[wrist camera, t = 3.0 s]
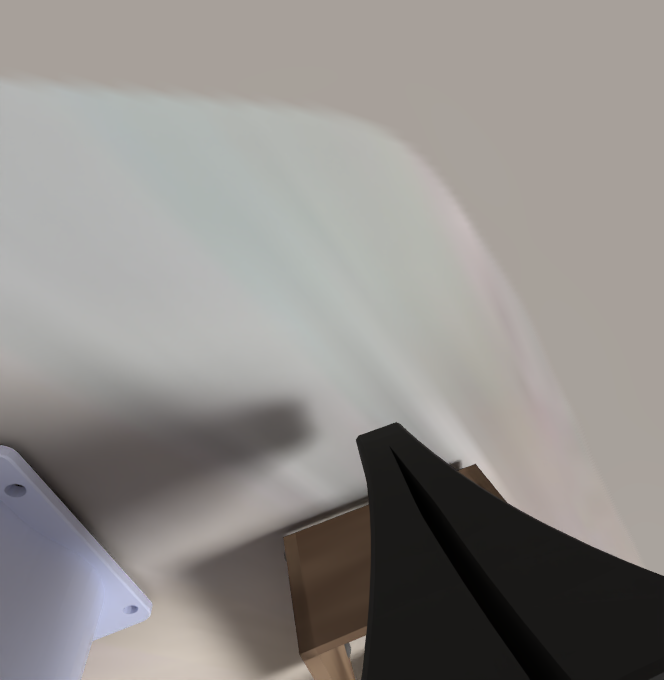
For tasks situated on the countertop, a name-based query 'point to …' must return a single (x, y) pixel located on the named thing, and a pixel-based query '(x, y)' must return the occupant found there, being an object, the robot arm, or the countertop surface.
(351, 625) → the wooden bracket shelf
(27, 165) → the countertop surface
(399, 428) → the robot arm
